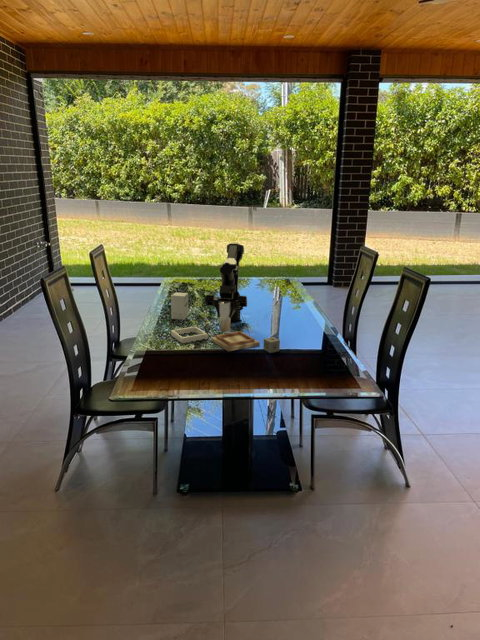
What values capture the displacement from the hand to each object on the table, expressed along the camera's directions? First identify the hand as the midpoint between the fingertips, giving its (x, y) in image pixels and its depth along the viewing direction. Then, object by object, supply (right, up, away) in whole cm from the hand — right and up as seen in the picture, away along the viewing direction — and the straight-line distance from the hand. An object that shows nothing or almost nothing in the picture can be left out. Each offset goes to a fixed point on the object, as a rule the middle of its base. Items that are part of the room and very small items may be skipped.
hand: (224, 317), depth 225 cm
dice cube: (+21, -15, -3) cm, 26 cm away
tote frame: (-17, -9, +12) cm, 22 cm away
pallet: (+5, -12, +5) cm, 13 cm away
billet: (0, -6, +3) cm, 7 cm away
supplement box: (-25, 0, +42) cm, 48 cm away
